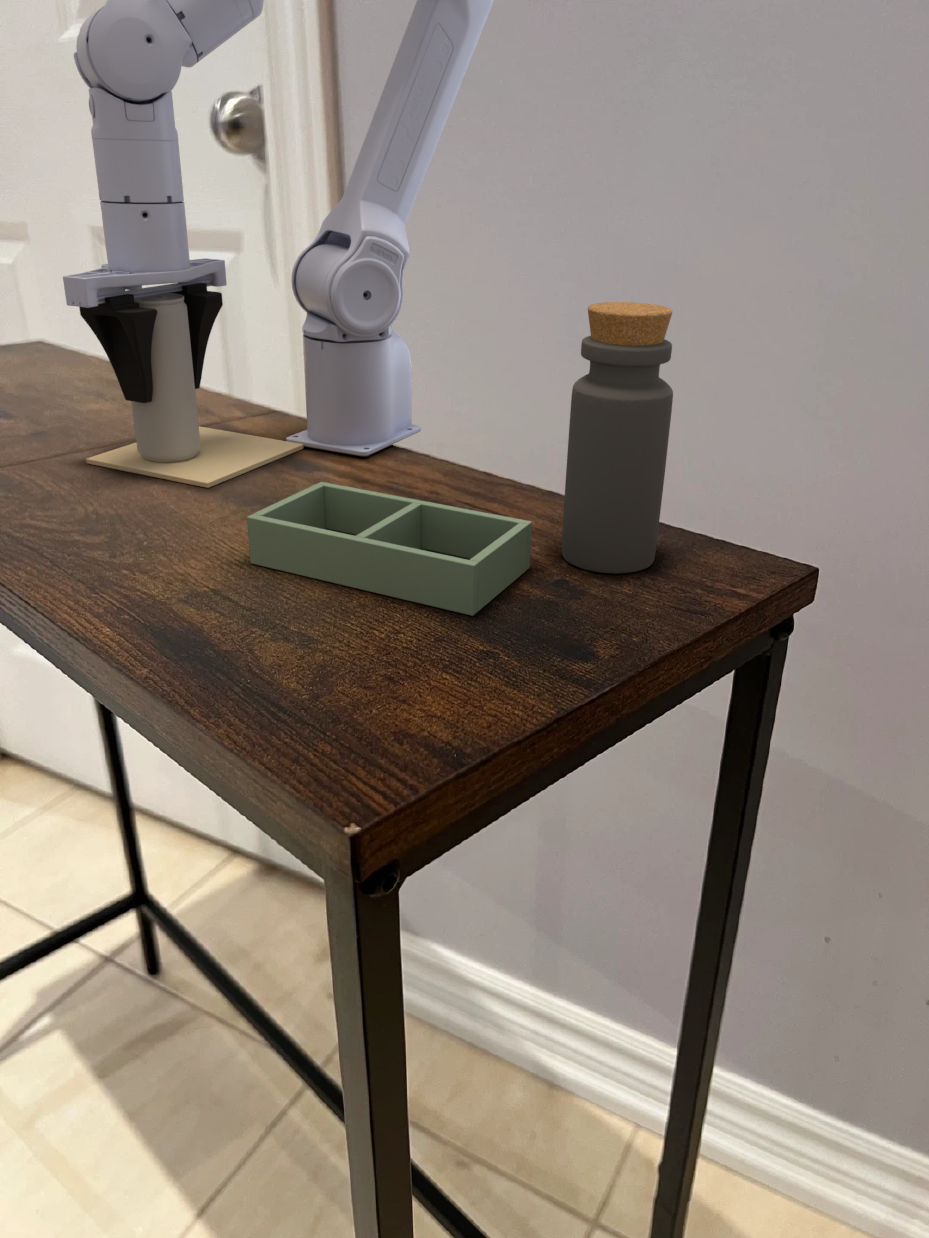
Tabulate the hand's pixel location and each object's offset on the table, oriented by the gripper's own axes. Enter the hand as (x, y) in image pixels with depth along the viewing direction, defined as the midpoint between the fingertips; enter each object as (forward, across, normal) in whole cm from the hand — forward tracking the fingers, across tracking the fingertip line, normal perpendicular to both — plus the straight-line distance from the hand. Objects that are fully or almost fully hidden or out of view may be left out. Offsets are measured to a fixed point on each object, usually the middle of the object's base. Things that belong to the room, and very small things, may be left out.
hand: (163, 394), depth 76 cm
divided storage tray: (+5, +10, +26) cm, 28 cm away
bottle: (+5, +2, +37) cm, 37 cm away
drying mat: (+5, -2, +1) cm, 6 cm away
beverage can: (+5, 0, 0) cm, 5 cm away
